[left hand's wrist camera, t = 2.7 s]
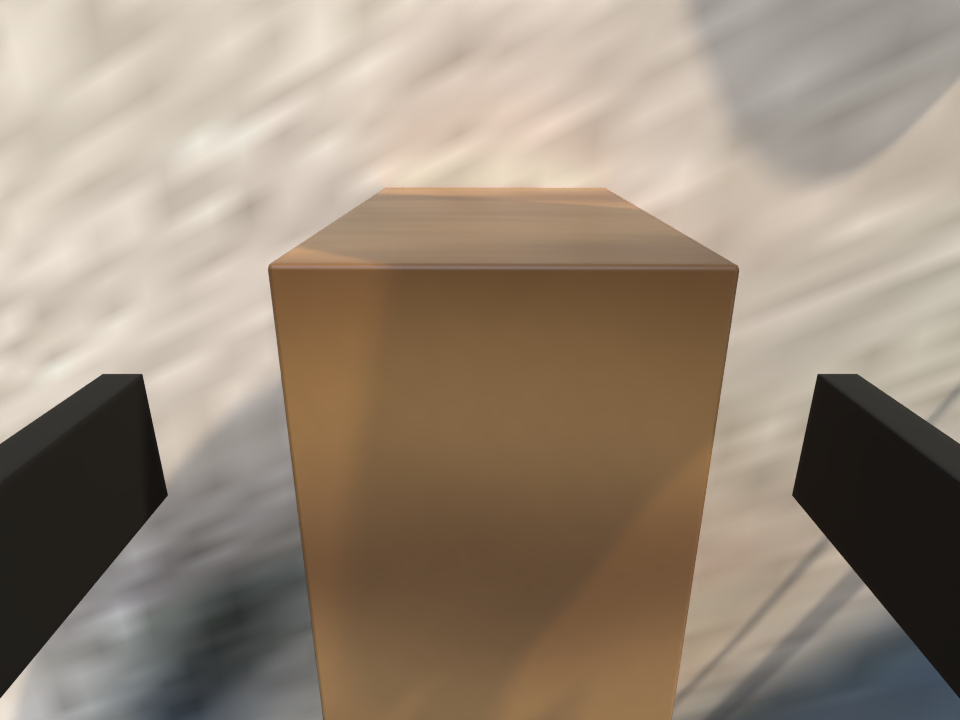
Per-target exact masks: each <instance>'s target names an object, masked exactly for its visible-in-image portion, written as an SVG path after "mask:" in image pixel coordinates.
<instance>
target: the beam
mask: <svg viewBox="0 0 960 720" xmlns="http://www.w3.org/2000/svg"><path fill="white" fill-rule="evenodd" d="M268 273H269V281H270V289H271V297H272V305H273V314H274V322H275V330H276V338H277V346H278V354H279V362H280V371H281V379H282V387H283V395H284V403H285V411H286V419H287V428H288V436H289V444H290V452H291V460H292V468H293V476H294V485H295V493H296V501H297V509H298V517H299V525H300V533H301V542H302V550H303V558H304V566H305V574H306V582H307V590H308V599H309V607H310V615H311V623H312V631H313V639H314V647H315V656H316V664H317V672H318V680H319V688H320V696H321V704H322V713H323V720H672V714H673V707H674V700H675V694H676V687H677V680H678V674H679V667H680V660H681V654H682V647H683V640H684V634H685V627H686V620H687V614H688V607H689V600H690V594H691V587H692V580H693V574H694V567H695V560H696V554H697V547H698V541H699V534H700V527H701V521H702V514H703V507H704V501H705V494H706V487H707V481H708V474H709V467H710V461H711V454H712V447H713V441H714V434H715V427H716V421H717V414H718V407H719V401H720V394H721V388H722V381H723V374H724V368H725V361H726V354H727V348H728V341H729V334H730V328H731V321H732V314H733V308H734V301H735V294H736V288H737V281H738V274H739V268H738V266H737V265H736V264H734V263H732V262H731V261H729V260H727V259H725V258H724V257H722V256H720V255H719V254H717V253H715V252H713V251H712V250H710V249H708V248H707V247H705V246H703V245H702V244H700V243H698V242H696V241H695V240H693V239H691V238H690V237H688V236H686V235H684V234H683V233H681V232H679V231H678V230H676V229H674V228H673V227H671V226H669V225H667V224H666V223H664V222H662V221H661V220H659V219H657V218H655V217H654V216H652V215H650V214H649V213H647V212H645V211H643V210H642V209H640V208H638V207H637V206H635V205H633V204H632V203H630V202H628V201H626V200H625V199H623V198H621V197H620V196H618V195H616V194H614V193H613V192H611V191H609V190H608V189H606V188H385V189H383V190H382V191H380V192H379V193H377V194H376V195H374V196H373V197H371V198H369V199H368V200H366V201H365V202H363V203H362V204H360V205H359V206H357V207H356V208H354V209H353V210H351V211H350V212H348V213H347V214H345V215H344V216H342V217H341V218H339V219H338V220H336V221H335V222H333V223H332V224H330V225H328V226H327V227H325V228H324V229H322V230H321V231H319V232H318V233H316V234H315V235H313V236H312V237H310V238H309V239H307V240H306V241H304V242H303V243H301V244H300V245H298V246H297V247H295V248H294V249H292V250H291V251H289V252H287V253H286V254H284V255H283V256H281V257H280V258H278V259H277V260H275V261H274V262H272V263H271V264H269V267H268Z"/></svg>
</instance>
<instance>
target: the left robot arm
mask: <svg viewBox="0 0 960 720" xmlns="http://www.w3.org/2000/svg"><path fill="white" fill-rule="evenodd" d="M167 496H168V494H167V489H166V484H165V480H164V475H163V470H162V465H161V461H160V456H159V451H158V446H157V442H156V437H155V432H154V427H153V423H152V418H151V413H150V408H149V404H148V399H147V394H146V389H145V385H144V380H143V375H142V374H102V375H101V376H99V377H98V378H96V379H95V380H93V381H92V382H91V383H89V384H88V385H86V386H85V387H83V388H82V389H80V390H79V391H77V392H76V393H74V394H73V395H71V396H70V397H69V398H67V399H66V400H64V401H63V402H61V403H60V404H58V405H57V406H55V407H54V408H52V409H51V410H49V411H48V412H47V413H45V414H44V415H42V416H41V417H39V418H38V419H36V420H35V421H33V422H32V423H30V424H29V425H27V426H26V427H24V428H23V429H22V430H20V431H19V432H17V433H16V434H14V435H13V436H11V437H10V438H8V439H7V440H5V441H4V442H2V443H1V444H0V698H1V697H2V696H3V694H4V693H5V692H6V691H7V690H8V688H9V687H10V686H11V685H12V684H13V682H14V681H15V680H16V679H17V677H18V676H19V675H20V674H21V673H22V671H23V670H24V669H25V668H26V667H27V665H28V664H29V663H30V662H31V661H32V659H33V658H34V657H35V656H36V654H37V653H38V652H39V651H40V650H41V648H42V647H43V646H44V645H45V644H46V642H47V641H48V640H49V639H50V637H51V636H52V635H53V634H54V633H55V631H56V630H57V629H58V628H59V627H60V625H61V624H62V623H63V622H64V621H65V619H66V618H67V617H68V616H69V614H70V613H71V612H72V611H73V610H74V608H75V607H76V606H77V605H78V604H79V602H80V601H81V600H82V599H83V597H84V596H85V595H86V594H87V593H88V591H89V590H90V589H91V588H92V587H93V585H94V584H95V583H96V582H97V581H98V579H99V578H100V577H101V576H102V574H103V573H104V572H105V571H106V570H107V568H108V567H109V566H110V565H111V564H112V562H113V561H114V560H115V559H116V558H117V556H118V555H119V554H120V553H121V551H122V550H123V549H124V548H125V547H126V545H127V544H128V543H129V542H130V541H131V539H132V538H133V537H134V536H135V534H136V533H137V532H138V531H139V530H140V528H141V527H142V526H143V525H144V524H145V522H146V521H147V520H148V519H149V518H150V516H151V515H152V514H153V513H154V511H155V510H156V509H157V508H158V507H159V505H160V504H161V503H162V502H163V501H164V499H165V498H166V497H167ZM792 496H793V497H794V498H795V499H796V501H797V502H798V503H799V504H800V505H801V507H802V508H803V509H804V510H805V511H806V513H807V514H808V515H809V516H810V518H811V519H812V520H813V521H814V522H815V524H816V525H817V526H818V527H819V528H820V530H821V531H822V532H823V533H824V534H825V536H826V537H827V538H828V539H829V541H830V542H831V543H832V544H833V545H834V547H835V548H836V549H837V550H838V551H839V553H840V554H841V555H842V556H843V558H844V559H845V560H846V561H847V562H848V564H849V565H850V566H851V567H852V568H853V570H854V571H855V572H856V573H857V574H858V576H859V577H860V578H861V579H862V581H863V582H864V583H865V584H866V585H867V587H868V588H869V589H870V590H871V591H872V593H873V594H874V595H875V596H876V597H877V599H878V600H879V601H880V602H881V604H882V605H883V606H884V607H885V608H886V610H887V611H888V612H889V613H890V614H891V616H892V617H893V618H894V619H895V621H896V622H897V623H898V624H899V625H900V627H901V628H902V629H903V630H904V631H905V633H906V634H907V635H908V636H909V637H910V639H911V640H912V641H913V642H914V644H915V645H916V646H917V647H918V648H919V650H920V651H921V652H922V653H923V654H924V656H925V657H926V658H927V659H928V661H929V662H930V663H931V664H932V665H933V667H934V668H935V669H936V670H937V671H938V673H939V674H940V675H941V676H942V677H943V679H944V680H945V681H946V682H947V684H948V685H949V686H950V687H951V688H952V690H953V691H954V692H955V693H956V694H957V696H958V697H959V698H960V444H959V443H958V442H956V441H955V440H953V439H952V438H950V437H949V436H947V435H946V434H944V433H943V432H941V431H940V430H938V429H937V428H936V427H934V426H933V425H931V424H930V423H928V422H927V421H925V420H924V419H922V418H921V417H919V416H918V415H916V414H915V413H913V412H912V411H911V410H909V409H908V408H906V407H905V406H903V405H902V404H900V403H899V402H897V401H896V400H894V399H893V398H891V397H890V396H889V395H887V394H886V393H884V392H883V391H881V390H880V389H878V388H877V387H875V386H874V385H872V384H871V383H869V382H868V381H867V380H865V379H864V378H862V377H861V376H859V375H858V374H818V375H817V380H816V385H815V389H814V394H813V399H812V404H811V408H810V413H809V418H808V423H807V427H806V432H805V437H804V442H803V446H802V451H801V456H800V461H799V465H798V470H797V475H796V480H795V484H794V489H793V494H792Z"/></svg>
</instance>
